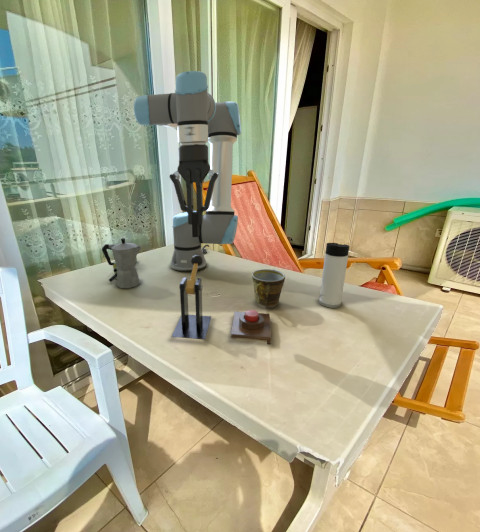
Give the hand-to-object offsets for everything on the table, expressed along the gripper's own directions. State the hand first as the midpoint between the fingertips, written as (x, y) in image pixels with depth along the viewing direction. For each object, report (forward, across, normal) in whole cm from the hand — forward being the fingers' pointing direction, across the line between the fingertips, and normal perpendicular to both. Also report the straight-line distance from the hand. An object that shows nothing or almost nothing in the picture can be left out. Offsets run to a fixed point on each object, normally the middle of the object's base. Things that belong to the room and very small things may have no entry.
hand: (195, 235), depth 84 cm
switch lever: (+11, 0, -3) cm, 12 cm away
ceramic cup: (+25, +20, +8) cm, 33 cm away
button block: (+25, +16, -7) cm, 30 cm away
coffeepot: (+25, -32, +19) cm, 45 cm away
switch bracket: (+25, 0, -9) cm, 26 cm away
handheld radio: (+25, -38, +31) cm, 55 cm away
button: (+21, +16, -7) cm, 27 cm away
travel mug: (+25, +40, +12) cm, 49 cm away
